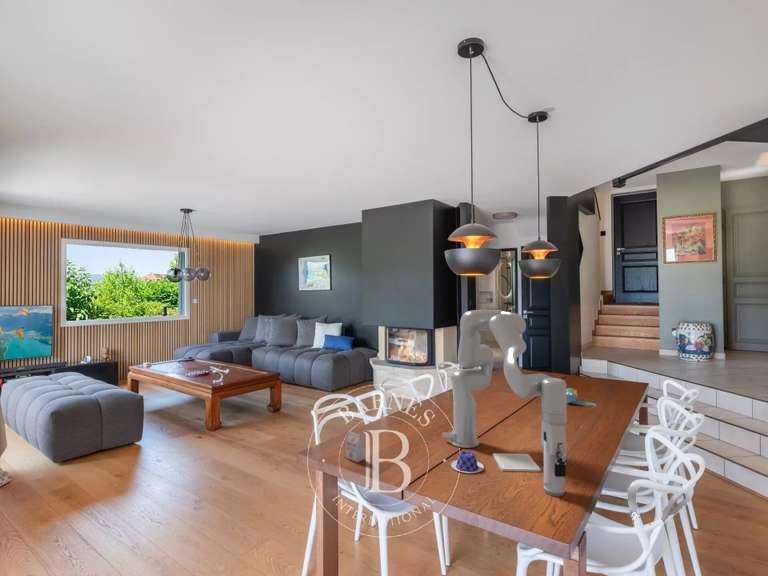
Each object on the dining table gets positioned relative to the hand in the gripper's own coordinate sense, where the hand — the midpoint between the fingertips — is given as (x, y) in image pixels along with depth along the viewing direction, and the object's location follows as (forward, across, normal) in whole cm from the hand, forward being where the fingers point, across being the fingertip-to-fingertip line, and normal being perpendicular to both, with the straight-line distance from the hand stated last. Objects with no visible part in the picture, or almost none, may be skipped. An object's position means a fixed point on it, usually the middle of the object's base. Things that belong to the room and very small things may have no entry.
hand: (554, 469), depth 131 cm
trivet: (+7, -22, -6) cm, 24 cm away
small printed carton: (+8, -24, -68) cm, 73 cm away
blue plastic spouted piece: (+8, -109, +51) cm, 121 cm away
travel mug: (+7, 0, 0) cm, 7 cm away
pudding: (+8, -18, -25) cm, 32 cm away
